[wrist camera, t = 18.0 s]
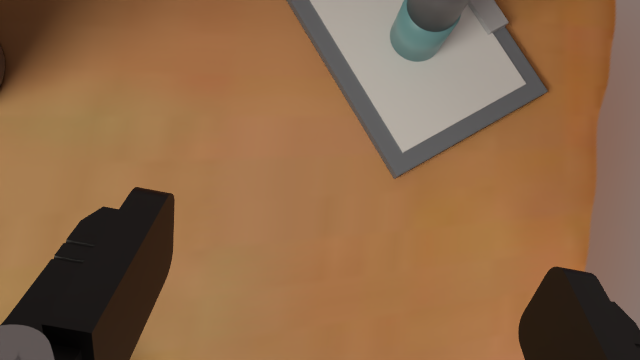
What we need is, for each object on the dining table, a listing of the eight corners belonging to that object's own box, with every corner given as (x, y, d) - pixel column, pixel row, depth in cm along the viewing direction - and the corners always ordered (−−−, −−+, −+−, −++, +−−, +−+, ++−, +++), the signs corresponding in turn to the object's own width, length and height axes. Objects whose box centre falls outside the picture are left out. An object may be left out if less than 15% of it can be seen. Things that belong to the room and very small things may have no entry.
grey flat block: (280, -11, 46) (280, -23, 44) (426, -79, 48) (431, -93, 46) (394, 178, 43) (399, 174, 41) (541, 95, 46) (552, 87, 44)
